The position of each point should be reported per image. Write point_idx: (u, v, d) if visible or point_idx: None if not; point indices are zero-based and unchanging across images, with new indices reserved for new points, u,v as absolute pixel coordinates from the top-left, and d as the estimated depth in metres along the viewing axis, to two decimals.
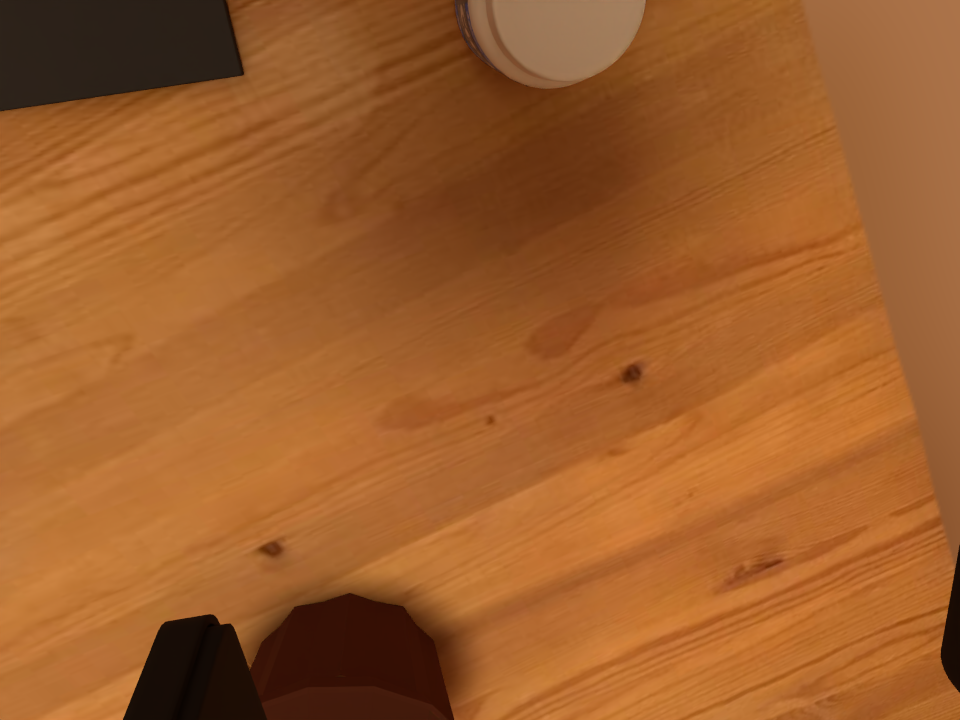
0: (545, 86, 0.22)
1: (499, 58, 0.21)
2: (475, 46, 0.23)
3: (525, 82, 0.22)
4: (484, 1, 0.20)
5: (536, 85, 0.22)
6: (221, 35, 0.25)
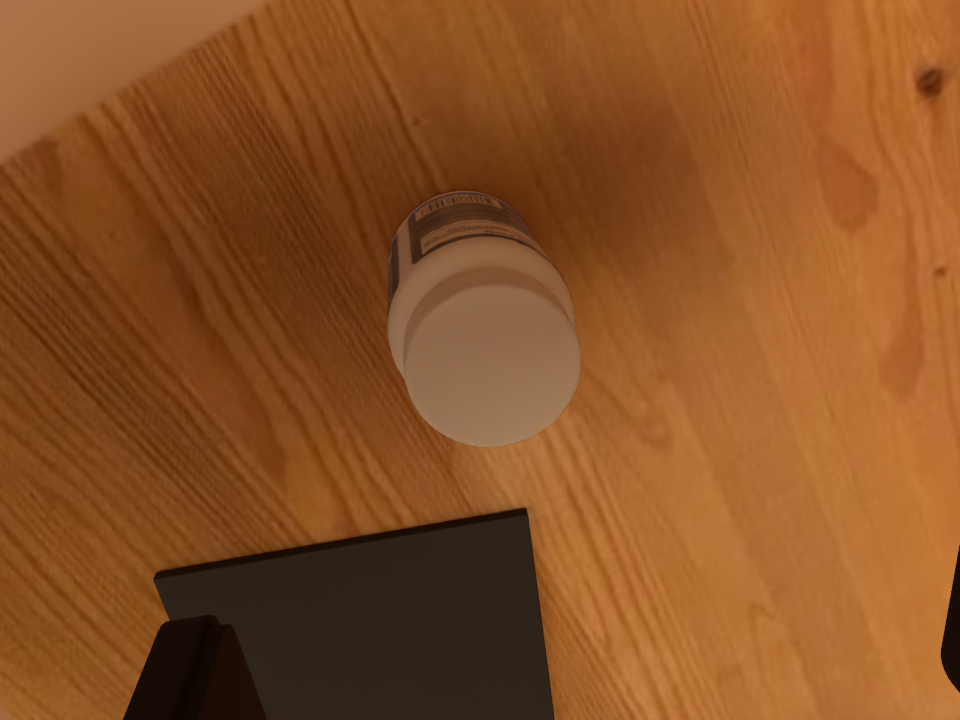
0: None
1: None
2: None
3: None
4: None
5: None
6: (493, 528, 0.28)
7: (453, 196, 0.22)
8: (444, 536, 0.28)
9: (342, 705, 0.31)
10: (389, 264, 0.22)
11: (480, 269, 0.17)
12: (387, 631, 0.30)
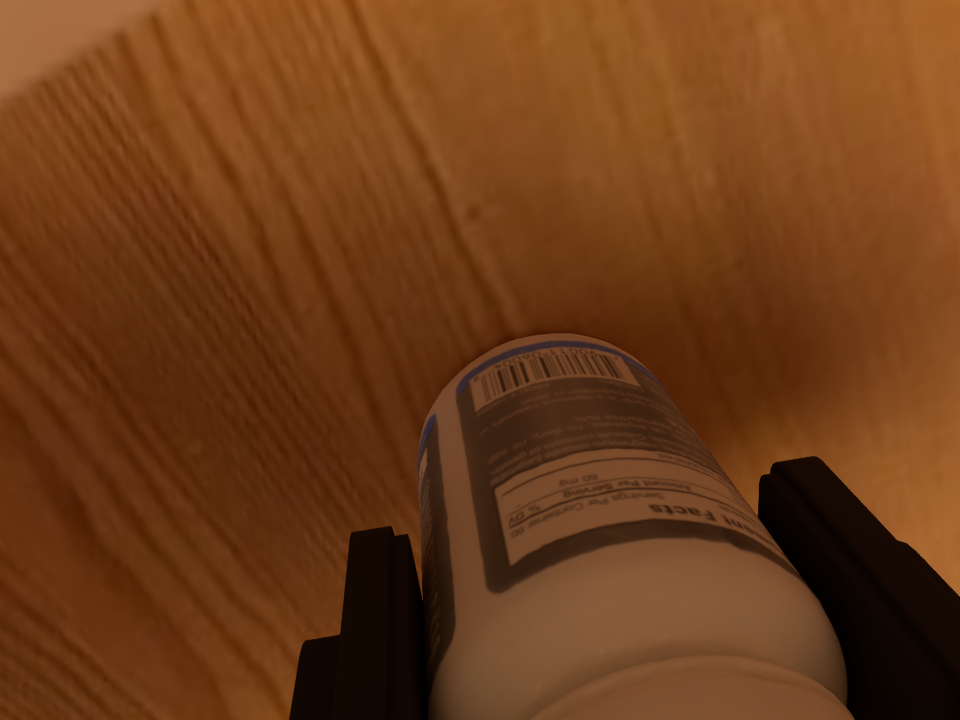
0: None
1: None
2: None
3: None
4: None
5: None
6: None
7: (542, 353, 0.12)
8: None
9: None
10: (422, 481, 0.12)
11: (672, 661, 0.07)
12: None
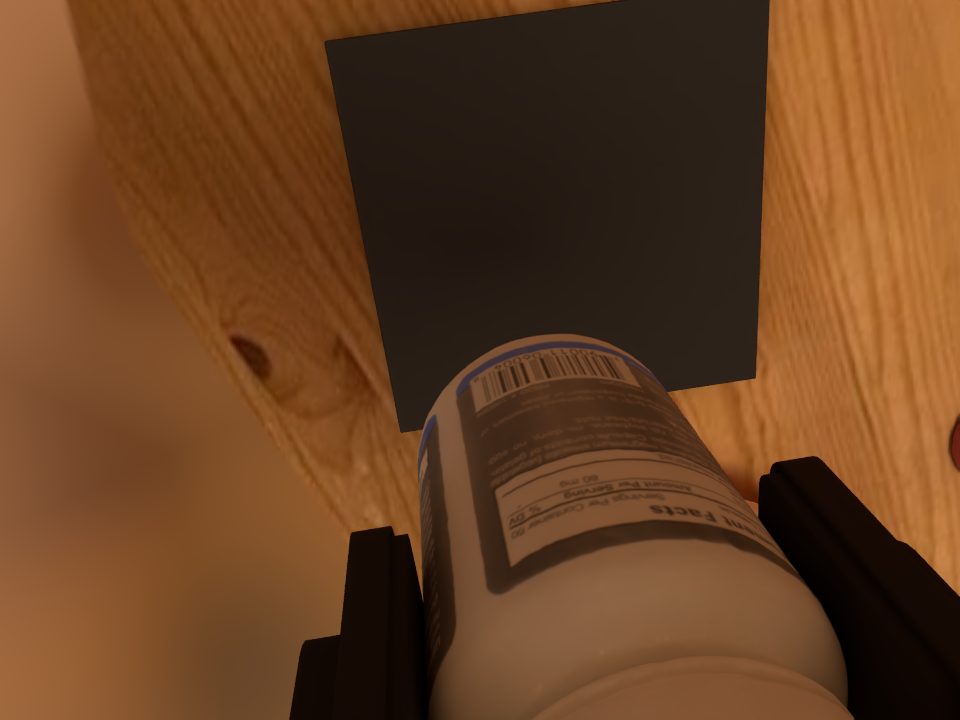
0: None
1: None
2: None
3: None
4: None
5: None
6: None
7: (542, 354, 0.12)
8: (669, 5, 0.23)
9: (521, 263, 0.27)
10: (422, 482, 0.12)
11: (672, 662, 0.07)
12: (586, 152, 0.25)
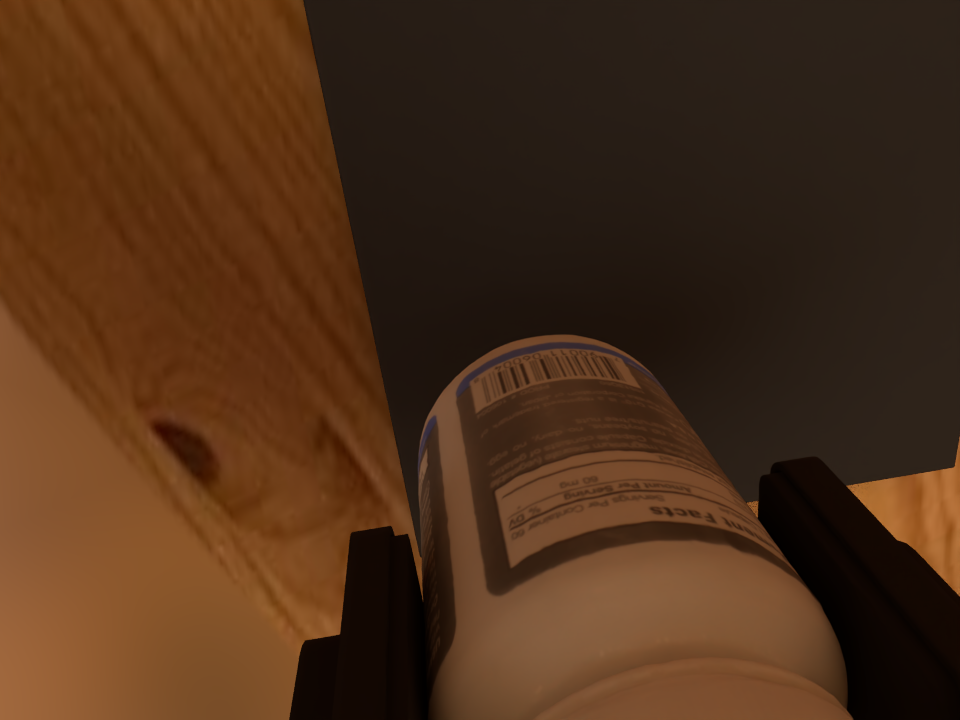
0: None
1: None
2: None
3: None
4: None
5: None
6: None
7: (543, 355, 0.12)
8: None
9: (614, 304, 0.17)
10: (423, 483, 0.12)
11: (671, 663, 0.07)
12: (728, 122, 0.15)
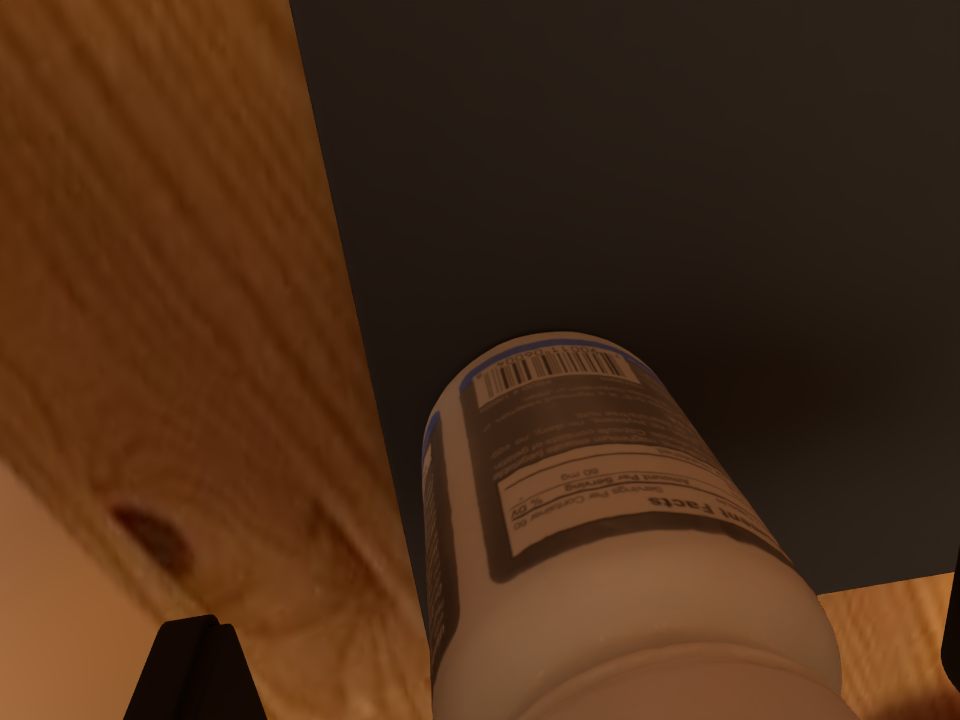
0: None
1: None
2: None
3: None
4: None
5: None
6: None
7: (544, 351, 0.12)
8: None
9: (668, 370, 0.14)
10: (426, 476, 0.12)
11: (670, 647, 0.07)
12: (816, 153, 0.12)
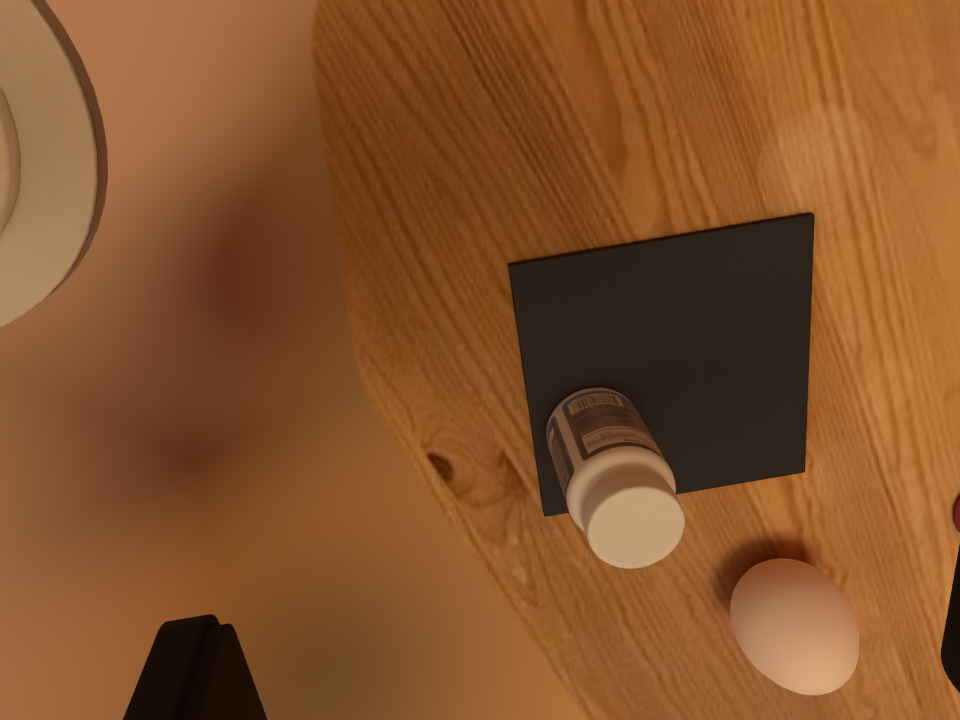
0: None
1: None
2: None
3: None
4: None
5: None
6: (785, 226, 0.34)
7: (591, 395, 0.36)
8: (744, 232, 0.34)
9: (636, 400, 0.37)
10: (552, 438, 0.36)
11: (626, 470, 0.30)
12: (684, 326, 0.36)
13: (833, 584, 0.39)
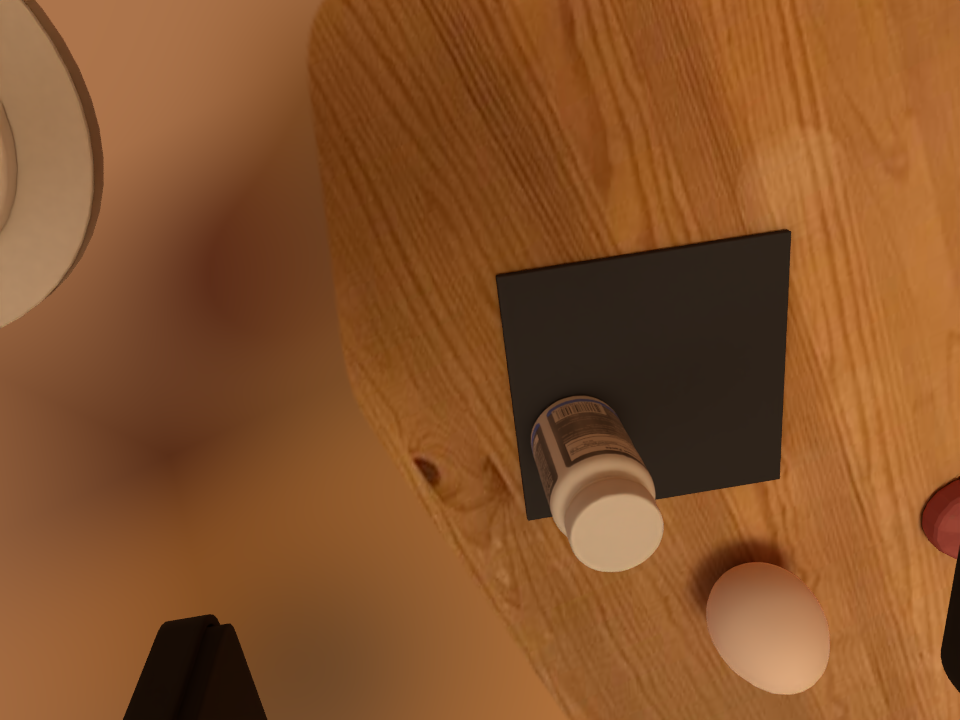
0: None
1: None
2: None
3: None
4: None
5: None
6: (763, 243, 0.35)
7: (575, 403, 0.37)
8: (724, 248, 0.35)
9: (618, 408, 0.38)
10: (536, 445, 0.37)
11: (608, 477, 0.32)
12: (665, 337, 0.37)
13: (805, 587, 0.40)
